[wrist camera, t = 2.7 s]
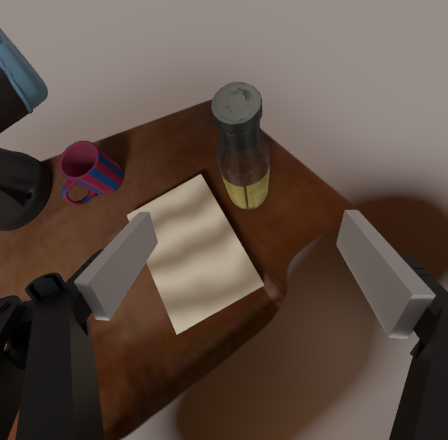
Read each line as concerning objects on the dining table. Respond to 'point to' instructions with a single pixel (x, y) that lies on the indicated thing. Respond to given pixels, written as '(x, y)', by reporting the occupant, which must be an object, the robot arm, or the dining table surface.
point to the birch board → (196, 255)
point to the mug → (89, 170)
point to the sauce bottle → (241, 144)
